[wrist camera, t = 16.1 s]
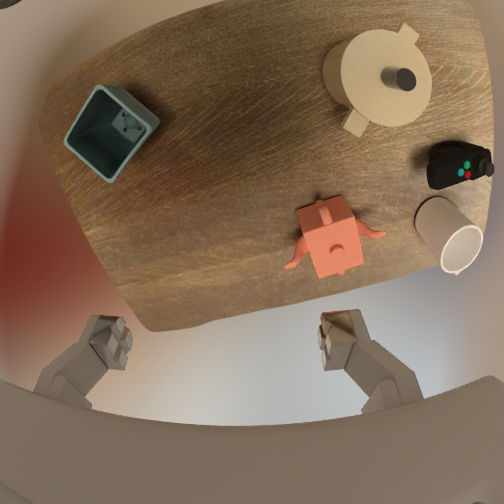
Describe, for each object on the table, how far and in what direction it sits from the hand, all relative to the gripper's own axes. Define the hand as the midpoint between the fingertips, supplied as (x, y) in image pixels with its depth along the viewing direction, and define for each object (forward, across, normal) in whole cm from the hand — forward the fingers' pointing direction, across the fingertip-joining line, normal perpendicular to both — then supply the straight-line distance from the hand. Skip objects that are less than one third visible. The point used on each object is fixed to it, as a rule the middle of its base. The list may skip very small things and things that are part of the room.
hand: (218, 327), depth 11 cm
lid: (+22, -16, -10) cm, 29 cm away
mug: (+30, -33, +13) cm, 47 cm away
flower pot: (+31, +15, -5) cm, 34 cm away
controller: (+30, -30, 0) cm, 43 cm away
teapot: (+31, -12, +13) cm, 35 cm away
